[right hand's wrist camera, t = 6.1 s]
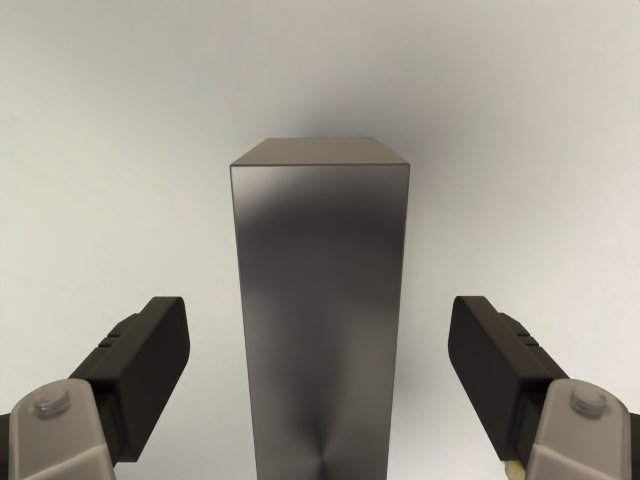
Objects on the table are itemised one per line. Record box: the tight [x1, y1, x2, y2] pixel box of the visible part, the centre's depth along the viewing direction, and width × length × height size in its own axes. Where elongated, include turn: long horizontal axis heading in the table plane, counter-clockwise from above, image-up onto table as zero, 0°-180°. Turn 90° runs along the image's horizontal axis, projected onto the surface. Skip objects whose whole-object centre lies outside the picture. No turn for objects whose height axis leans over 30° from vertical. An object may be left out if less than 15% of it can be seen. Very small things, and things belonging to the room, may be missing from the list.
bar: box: [230, 138, 410, 480], centre depth 21 cm, size 26×6×9 cm, turn 0°
